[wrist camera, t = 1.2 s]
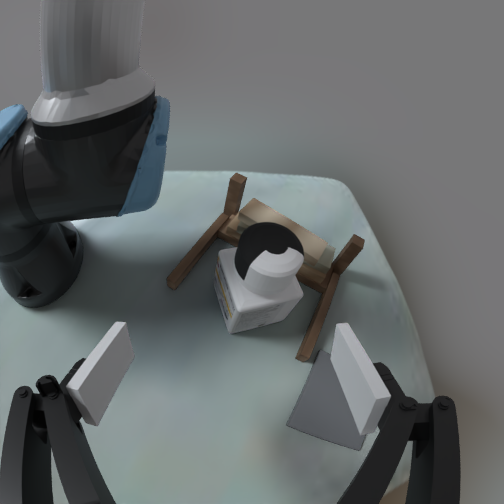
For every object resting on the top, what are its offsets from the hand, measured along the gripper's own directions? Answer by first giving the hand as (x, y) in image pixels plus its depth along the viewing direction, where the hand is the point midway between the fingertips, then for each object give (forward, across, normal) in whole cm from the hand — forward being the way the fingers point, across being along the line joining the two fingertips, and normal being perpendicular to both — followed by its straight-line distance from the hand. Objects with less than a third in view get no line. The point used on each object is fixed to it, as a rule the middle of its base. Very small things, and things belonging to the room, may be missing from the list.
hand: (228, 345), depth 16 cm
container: (+19, +1, -7) cm, 20 cm away
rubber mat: (+9, +13, -17) cm, 23 cm away
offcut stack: (+25, +6, -1) cm, 26 cm away
